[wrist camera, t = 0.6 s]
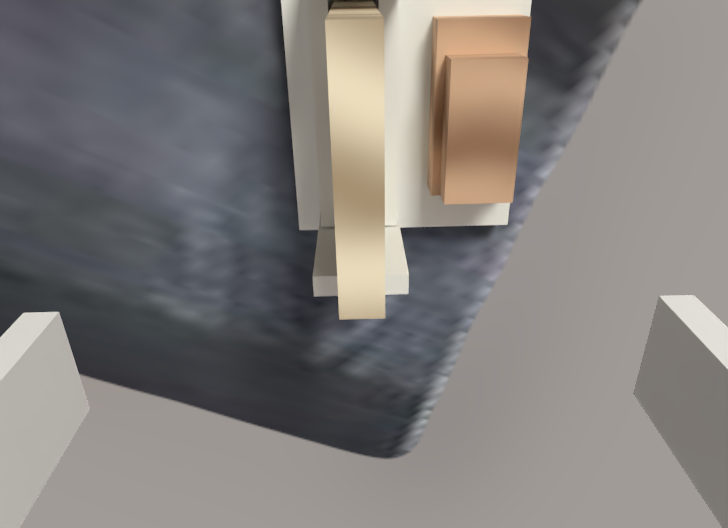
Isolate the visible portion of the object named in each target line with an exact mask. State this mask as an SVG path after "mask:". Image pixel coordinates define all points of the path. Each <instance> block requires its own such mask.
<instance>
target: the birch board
mask: <svg viewBox="0 0 728 528" xmlns="http://www.w3.org/2000/svg"><path fill="white" fill-rule="evenodd" d="M325 34H326V55H327V75H328V96H329V117H330V138H331V159H332V179H333V200H334V221H335V242H336V262H337V283H338V304H339V320H341V319H377V318H385V102H384V18H383V16H382V15H381V13H380V12H379V10H378V9H377V7H376V6H375V4H374V2H373V1H372V0H334V2H333V4H332V7H331V9H330V11H329V13H328V15H327V17H326V19H325Z"/></svg>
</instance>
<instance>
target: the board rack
mask: <svg viewBox="0 0 728 528" xmlns="http://www.w3.org/2000/svg"><path fill="white" fill-rule="evenodd" d="M372 1H373V2H374V4H375V6H376V7H377V9H378V10H379V12H380V13H381V15H382V16H383V18H384V102H385V295H387V294H408V287H409V273H408V267H407V262H406V257H405V252H404V246H403V241H402V236H401V230H400V228H404V227H441V226H479V225H507V224H508V215H509V205H510V203H483V204H445V205H444V203H443V200H442V198H441V195H437V196H431V194H430V191H429V188H428V185H427V179H428V150H429V121H430V92H431V63H432V34H433V16H475V15H518V14H522V15H525V16H529V17H530V11H531V1H532V0H372ZM333 2H334V0H281V7H282V20H283V32H284V45H285V57H286V69H287V82H288V94H289V107H290V119H291V132H292V144H293V156H294V169H295V181H296V194H297V206H298V219H299V230H318V236H317V244H316V252H315V260H314V269H313V291H314V297H315V296H338V283H337V262H336V242H335V221H334V200H333V179H332V159H331V138H330V117H329V96H328V75H327V55H326V34H325V19H326V17H327V15H328V13H329V11H330V9H331V7H332V4H333Z"/></svg>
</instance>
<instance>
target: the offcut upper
mask: <svg viewBox="0 0 728 528" xmlns="http://www.w3.org/2000/svg"><path fill="white" fill-rule="evenodd" d="M528 59H529V58H527V57H525V56H523V55H521V54H519V53H502V54H461V55H446V59H445V81H444V103H443V125H442V147H441V170H440V195H441V198H442V200H443V203H444V205H445V204H483V203H513V194H514V185H515V176H516V167H517V158H518V149H519V140H520V131H521V122H522V113H523V104H524V95H525V86H526V77H527V68H528Z"/></svg>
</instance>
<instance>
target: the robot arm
mask: <svg viewBox="0 0 728 528" xmlns="http://www.w3.org/2000/svg"><path fill="white" fill-rule="evenodd" d="M633 394H634V395H635V397H636V398H637V400H638V401H639V403H640V404H641V406H642V407H643V409H644V410H645V412H646V413H647V414H648V416H649V418H650V419H651V421H652V422H653V424H654V425H655V427H656V428H657V430H658V431H659V433H660V434H661V436H662V437H663V439H664V440H665V442H666V443H667V445H668V446H669V448H670V449H671V451H672V452H673V454H674V455H675V457H676V458H677V460H678V462H679V463H680V464H681V466H682V468H683V469H684V470H685V472H686V474H687V475H688V477H689V478H690V480H691V481H692V483H693V484H694V486H695V487H696V489H697V490H698V492H699V493H700V494H701V496H702V498H703V499H704V501H705V502H706V504H707V505H708V507H709V508H710V510H711V511H712V513H713V514H714V516H715V517H716V519H717V520H718V522H719V523H720V525H721V526H722V528H728V327H727V326H725V325H724V324H723V323H722V322H721V321H720V320H719V319H718V318H717V317H716V316H715V315H714V314H713V313H712V312H711V311H710V310H709V309H708V308H707V307H706V306H705V305H704V304H702V303H701V302H700V301H699V300H698V299H697V298H696V297H695V296H694V295H676V296H659V299H658V302H657V306H656V309H655V313H654V317H653V321H652V325H651V328H650V332H649V336H648V340H647V344H646V347H645V351H644V355H643V359H642V363H641V367H640V370H639V374H638V378H637V382H636V385H635V389H634V393H633ZM89 410H90V407H89V404H88V401H87V398H86V395H85V392H84V388H83V385H82V382H81V379H80V376H79V373H78V370H77V367H76V363H75V360H74V357H73V354H72V351H71V348H70V345H69V342H68V338H67V335H66V332H65V329H64V326H63V323H62V320H61V317H60V313H59V312H36V313H23V314H22V315H21V316H20V317H19V318H18V319H17V320H16V321H15V322H14V323H13V325H12V326H11V327H10V328H9V329H8V330H7V331H6V332H5V333H4V334H3V335H2V336H1V337H0V528H20V527H21V525H22V523H23V522H24V520H25V518H26V517H27V515H28V513H29V511H30V510H31V508H32V506H33V505H34V503H35V501H36V499H37V498H38V496H39V495H40V493H41V491H42V489H43V488H44V486H45V484H46V483H47V481H48V479H49V478H50V476H51V474H52V472H53V470H54V469H55V467H56V466H57V464H58V462H59V461H60V459H61V457H62V455H63V454H64V452H65V450H66V448H67V447H68V445H69V444H70V442H71V440H72V439H73V437H74V435H75V433H76V432H77V430H78V428H79V427H80V425H81V423H82V422H83V420H84V418H85V416H86V415H87V413H88V411H89Z"/></svg>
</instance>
